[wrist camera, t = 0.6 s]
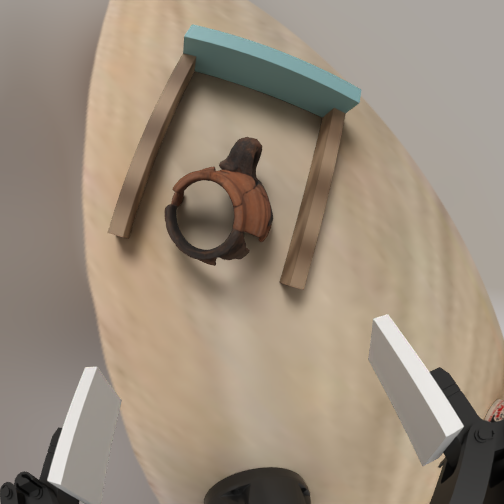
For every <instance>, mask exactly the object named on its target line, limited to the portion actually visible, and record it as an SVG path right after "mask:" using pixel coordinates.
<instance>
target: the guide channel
mask: <svg viewBox="0 0 504 504" xmlns="http://www.w3.org/2000/svg"><path fill="white" fill-rule="evenodd" d="M195 63H196V56H192V55H188V54H184V53H183V54H182V56H181V58H180V60H179V62H178V63H177V65H176V67H175V69H174V71H173V72H172V74H171V76H170V78H169V80H168V82H167V84H166V86H165V88H164V90H163V92H162V94H161V96H160V98H159V100H158V102H157V104H156V106H155V108H154V110H153V112H152V115H151V117H150V119H149V121H148V123H147V126H146V128H145V130H144V132H143V135H142V137H141V140H140V142H139V144H138V147H137V149H136V152H135V154H134V157H133V159H132V162H131V164H130V167H129V170H128V172H127V175H126V178H125V181H124V184H123V186H122V189H121V192H120V195H119V198H118V201H117V204H116V207H115V210H114V214H113V217H112V220H111V223H110V227H109V230H108V233H110V234H114V235H117V236H120V237H124V238H129V236H130V233H131V230H132V226H133V223H134V220H135V216H136V213H137V210H138V207H139V204H140V201H141V198H142V195H143V192H144V189H145V186H146V183H147V181H148V178H149V175H150V172H151V169H152V167H153V164H154V161H155V159H156V156H157V154H158V151H159V149H160V146H161V144H162V141H163V139H164V136H165V134H166V131H167V129H168V127H169V124H170V122H171V120H172V118H173V115H174V113H175V111H176V109H177V106H178V104H179V102H180V100H181V98H182V96H183V93H184V91H185V89H186V87H187V85H188V83H189V81H190V79H191V77H192V75H193V73H194V71H195ZM345 114H346V113H344V112H342V111H340V110H338V109H336V108H333V109H332V110H331V111H330V112H329V113H327V114H326V115H325V116H324V117H323V118H322V122H321V127H320V131H319V135H318V139H317V143H316V148H315V152H314V156H313V160H312V164H311V168H310V172H309V176H308V180H307V184H306V188H305V191H304V195H303V199H302V203H301V207H300V211H299V214H298V218H297V222H296V225H295V229H294V233H293V236H292V240H291V244H290V247H289V251H288V255H287V258H286V262H285V265H284V269H283V272H282V276H281V279H280V283H283V284H285V285H288V286H292V287H295V288H299V289H303V290H304V286H305V283H306V279H307V276H308V272H309V268H310V265H311V261H312V257H313V254H314V250H315V246H316V242H317V239H318V235H319V231H320V227H321V223H322V219H323V215H324V211H325V207H326V203H327V198H328V194H329V190H330V186H331V181H332V177H333V172H334V168H335V163H336V159H337V154H338V149H339V144H340V139H341V134H342V129H343V124H344V119H345Z"/></svg>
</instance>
